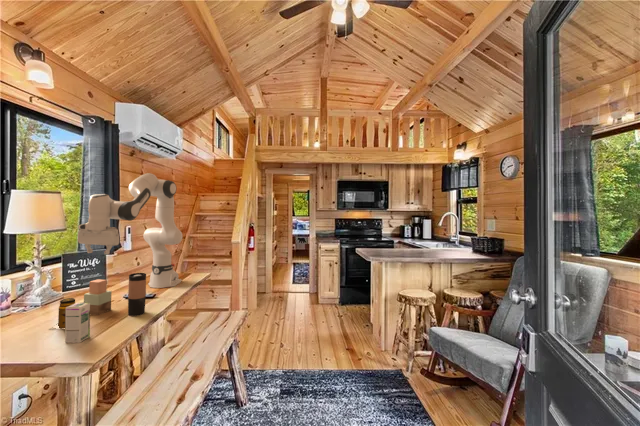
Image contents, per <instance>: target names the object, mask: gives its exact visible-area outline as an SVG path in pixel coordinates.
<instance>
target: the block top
mask: <svg viewBox="0 0 640 426" xmlns="http://www.w3.org/2000/svg"><path fill="white" fill-rule="evenodd" d="M109 301H111V302H112V290H106V292H104V293H101V294H89V292H86V293H84V294H83V302H84V303H90V305H101V304H103V303H106V302H109Z"/></svg>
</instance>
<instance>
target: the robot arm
mask: <svg viewBox="0 0 640 426" xmlns="http://www.w3.org/2000/svg"><path fill="white" fill-rule="evenodd" d="M128 190H129V193H130V195H131V196H132V197H133V199H132V200H129V201H128V200H126V201H120V200H115V199H112V198H111V197H110V195H109V194H106V193H97V194H92V195H90V198H89V201H88V216H89V217H88V220H87V221H88V222H86V223H82V224H79V225H78V232H77V242H78V244H81V245H82V244H83V245H84V247H85V249H86V251H87V252H86V253H87V254H92V253H93V252H94V249H93V248H91V246H92V245H96V246H106V250H104V253H103V254H104V255H110V252H111V249H112V248H113V246H118V245H119V244H120V236H119V235H120V234H119V230H118V228H117V227H114V226H111V219H112V220H124V221H133V220H135V219H137V217H138V216H139V213H140V211H141V210H142V208H144V206H145V205H146V204H147V202H148V201H149V200H150V198H151V197H156V198H157V199H156V202H155V212H154V213H155V214H154V218H155V220H156V221H157V222H159V224H160V225H161V227H150V228H149V227H148V228H147V229H145V230H144V231H143V236H142V237H143V239H144V241H145V242H146V243H147V244H148V246H149V247H150V249H151V251H152V265H151V270H152V271H151V272H150V277H149V282H148V283H147V285H148V286H149V287H150V288H152V289H153V288H154V289H157V288H158V289H160V288H161V289H163V288H170V287H171V288H172V287H176V286H177V285H178V284H180V283H181V281H182V282H183V279H181V278H179V273H178V272H177V271H176V270H174V269H173V268H174V267H175V266H176V264H175V263H172V252H171V250H169V249H168V248H167V247H166V245H168V246H172V245H178V244H180V243H181V242H182V241H183V233H182V231H181V230H180V229H179V228H178V226H177V225H176V223H175V199H174V196H175V194H176V192H177V185H176V183H175V182H174V181H173V180H168V179H167V180H166V179H159V178H158V177H157V176H156V175H155V173H154V174H153V173H151V172H147V173H144V174H141V175H140V176H138V177H136V178H134V180H132V181H131V183H129V186H128Z"/></svg>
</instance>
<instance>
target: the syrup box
mask: <svg viewBox="0 0 640 426" xmlns="http://www.w3.org/2000/svg"><path fill="white" fill-rule="evenodd" d="M90 323H91V315H90V303H84V301H83V302H75V304H73V305H71V306H69V307H66V323H65V329H64V330H65V332H64V333H65V337H64V338H65V343H66V344H80V343H82V342H83V341H85V340H86V339H88V338H91V337H90V336H91V334H90V333H91V330H90V327H91V324H90Z"/></svg>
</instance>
